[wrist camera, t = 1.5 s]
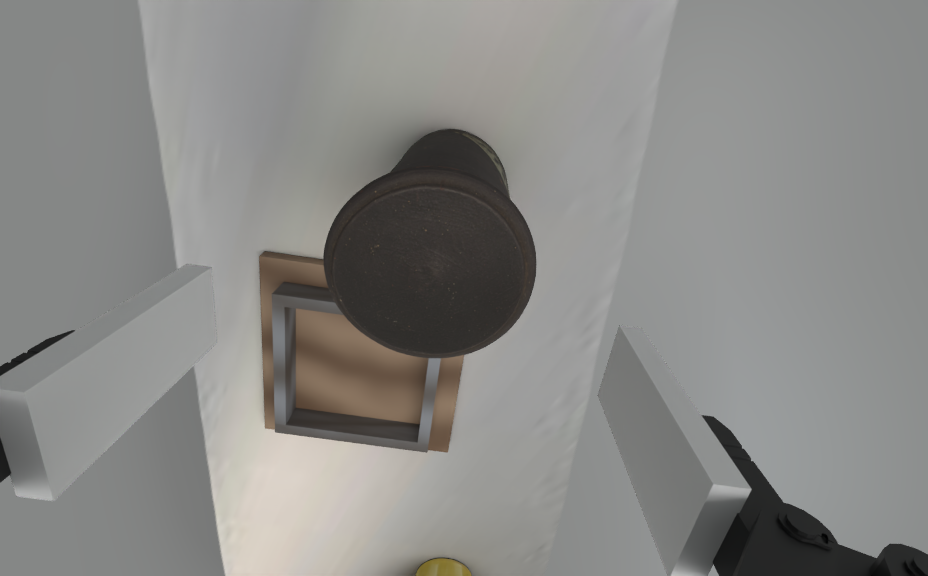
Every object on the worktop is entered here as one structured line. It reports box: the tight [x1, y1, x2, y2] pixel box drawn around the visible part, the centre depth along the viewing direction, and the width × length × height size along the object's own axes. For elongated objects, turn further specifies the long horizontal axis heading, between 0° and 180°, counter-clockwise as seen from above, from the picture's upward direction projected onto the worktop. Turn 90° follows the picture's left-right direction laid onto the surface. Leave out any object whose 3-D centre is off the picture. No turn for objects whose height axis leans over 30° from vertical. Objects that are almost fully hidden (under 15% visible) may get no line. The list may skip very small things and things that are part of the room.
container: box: [324, 129, 536, 358], centre depth 28 cm, size 9×9×20 cm
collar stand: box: [259, 251, 464, 452], centre depth 42 cm, size 18×18×4 cm
